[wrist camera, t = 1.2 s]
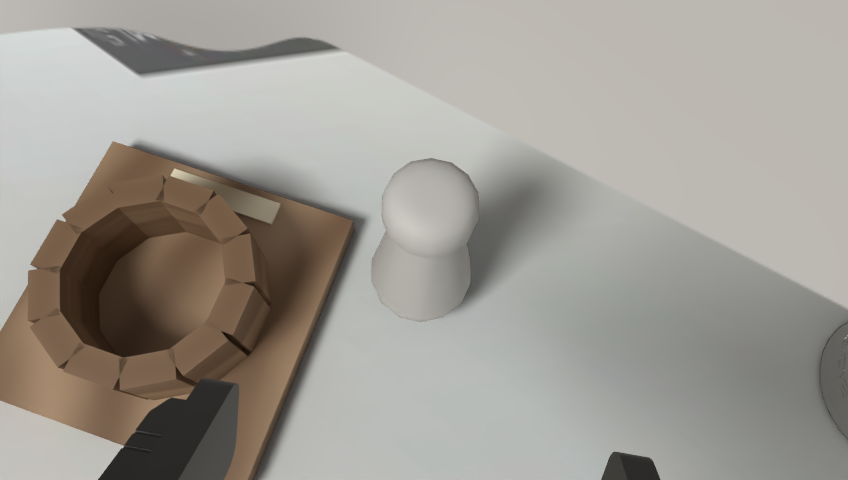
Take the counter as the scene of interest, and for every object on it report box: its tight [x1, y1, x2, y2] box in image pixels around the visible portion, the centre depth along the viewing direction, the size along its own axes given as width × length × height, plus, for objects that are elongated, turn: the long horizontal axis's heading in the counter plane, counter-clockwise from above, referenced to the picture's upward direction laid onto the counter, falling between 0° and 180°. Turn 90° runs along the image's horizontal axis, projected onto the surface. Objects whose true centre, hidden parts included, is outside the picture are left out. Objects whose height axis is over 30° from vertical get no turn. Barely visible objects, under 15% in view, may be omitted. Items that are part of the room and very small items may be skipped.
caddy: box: [0, 142, 355, 480], centre depth 34 cm, size 16×16×6 cm
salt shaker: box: [371, 158, 479, 322], centre depth 32 cm, size 6×6×13 cm
